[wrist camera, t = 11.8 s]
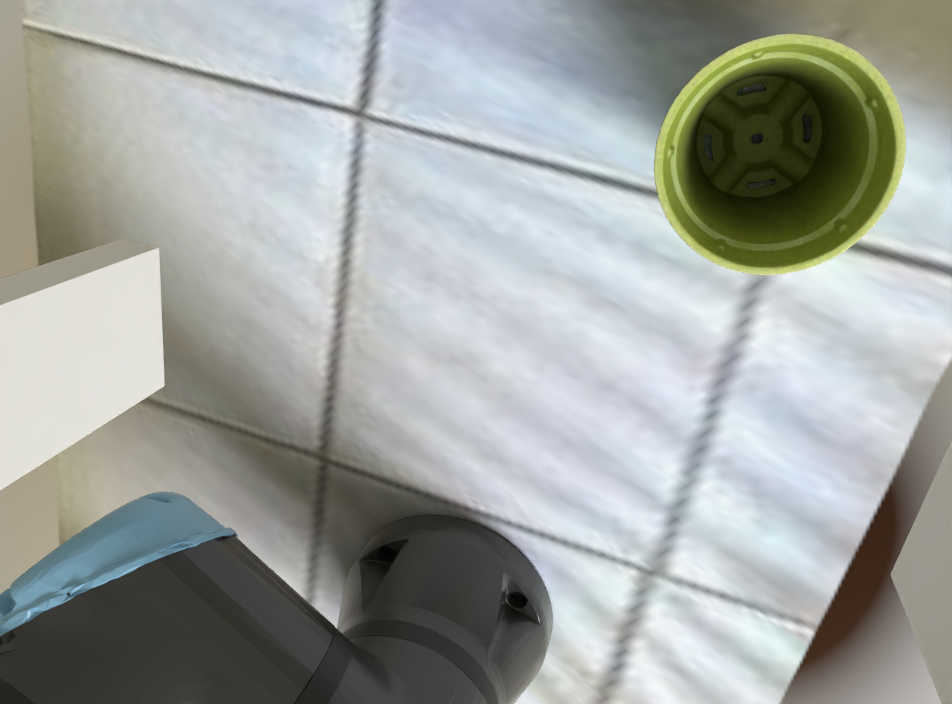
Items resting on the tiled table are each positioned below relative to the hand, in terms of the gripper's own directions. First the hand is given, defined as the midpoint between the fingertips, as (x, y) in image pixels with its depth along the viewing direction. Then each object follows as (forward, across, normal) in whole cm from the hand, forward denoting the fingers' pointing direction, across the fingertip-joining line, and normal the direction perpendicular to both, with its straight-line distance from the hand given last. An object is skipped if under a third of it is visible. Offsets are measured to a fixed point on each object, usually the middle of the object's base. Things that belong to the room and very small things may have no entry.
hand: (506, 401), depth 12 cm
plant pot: (+30, -6, -2) cm, 31 cm away
